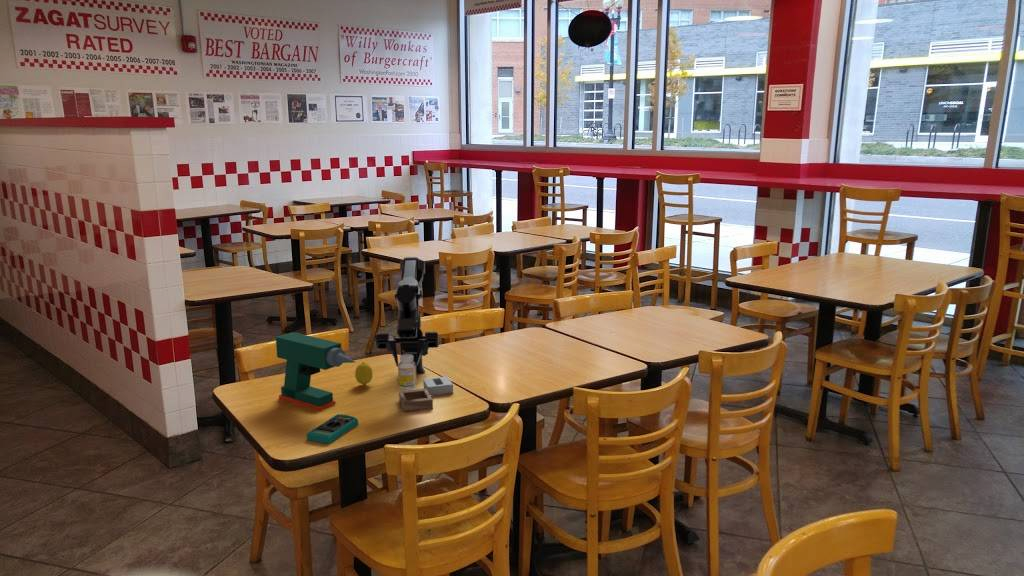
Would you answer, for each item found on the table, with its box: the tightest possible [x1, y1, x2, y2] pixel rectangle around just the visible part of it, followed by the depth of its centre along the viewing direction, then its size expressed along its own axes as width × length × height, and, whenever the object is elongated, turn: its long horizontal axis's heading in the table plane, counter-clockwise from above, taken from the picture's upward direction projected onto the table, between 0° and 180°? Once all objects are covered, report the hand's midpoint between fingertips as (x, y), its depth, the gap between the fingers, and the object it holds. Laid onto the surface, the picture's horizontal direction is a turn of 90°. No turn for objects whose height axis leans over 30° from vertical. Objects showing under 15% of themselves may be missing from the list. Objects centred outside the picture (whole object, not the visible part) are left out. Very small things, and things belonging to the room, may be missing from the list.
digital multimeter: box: [306, 414, 359, 445], centre depth 198 cm, size 7×15×3 cm, turn 159°
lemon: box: [354, 361, 373, 387], centre depth 234 cm, size 6×6×8 cm
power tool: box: [275, 331, 356, 412], centre depth 216 cm, size 32×7×20 cm, turn 56°
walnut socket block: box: [398, 388, 434, 413], centre depth 218 cm, size 10×8×3 cm
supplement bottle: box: [397, 354, 418, 390], centre depth 215 cm, size 5×5×10 cm
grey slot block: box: [422, 376, 454, 396], centre depth 230 cm, size 8×8×3 cm
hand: (406, 365), depth 214 cm, fingers closed on supplement bottle, 5 cm apart
